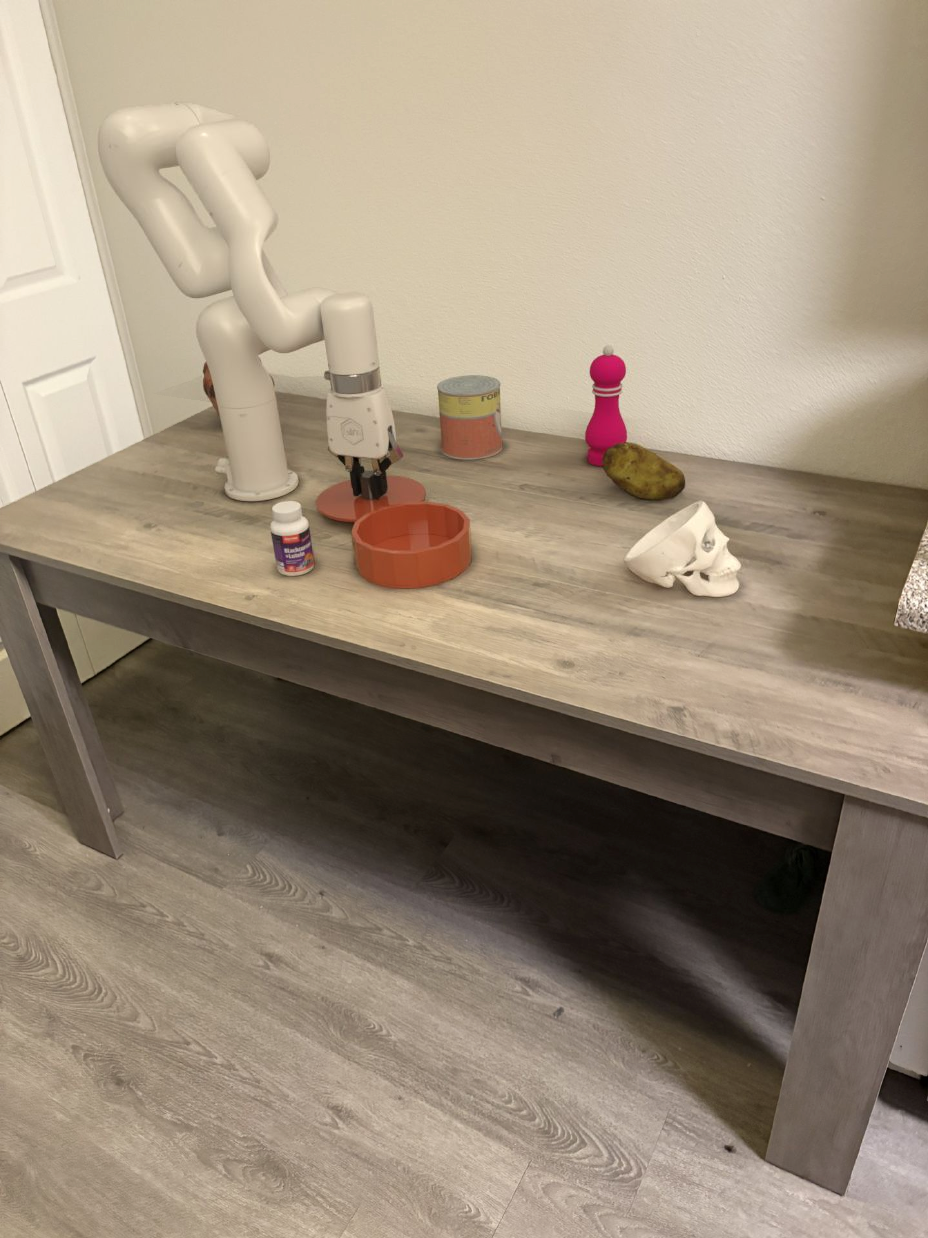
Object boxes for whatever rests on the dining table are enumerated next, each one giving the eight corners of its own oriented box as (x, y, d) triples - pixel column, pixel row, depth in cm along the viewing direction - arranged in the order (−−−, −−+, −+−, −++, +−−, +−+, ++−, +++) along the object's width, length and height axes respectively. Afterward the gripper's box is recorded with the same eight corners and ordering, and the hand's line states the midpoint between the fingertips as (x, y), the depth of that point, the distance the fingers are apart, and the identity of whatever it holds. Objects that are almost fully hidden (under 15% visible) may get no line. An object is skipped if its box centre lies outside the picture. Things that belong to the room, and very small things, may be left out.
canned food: (503, 458, 165) (500, 392, 158) (440, 461, 165) (435, 395, 159) (501, 436, 174) (499, 373, 168) (442, 439, 175) (438, 376, 168)
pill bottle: (289, 581, 129) (278, 518, 124) (270, 568, 133) (259, 506, 128) (322, 568, 132) (312, 506, 127) (303, 556, 136) (293, 495, 131)
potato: (660, 512, 142) (663, 463, 138) (593, 492, 150) (594, 446, 146) (690, 495, 147) (693, 447, 143) (623, 476, 155) (625, 431, 150)
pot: (334, 576, 130) (329, 541, 127) (392, 528, 142) (388, 495, 139) (439, 597, 123) (436, 560, 120) (489, 544, 136) (488, 510, 133)
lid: (295, 517, 144) (290, 488, 142) (353, 476, 158) (349, 449, 155) (392, 532, 137) (388, 502, 135) (444, 487, 151) (442, 459, 148)
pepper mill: (629, 454, 163) (634, 340, 153) (621, 469, 157) (626, 352, 147) (589, 451, 165) (591, 338, 155) (580, 466, 159) (581, 350, 149)
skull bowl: (745, 602, 115) (698, 519, 112) (650, 634, 124) (605, 558, 121) (762, 564, 123) (719, 486, 120) (672, 597, 131) (630, 524, 129)
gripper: (296, 384, 138) (314, 497, 147) (390, 392, 131) (403, 509, 141) (323, 370, 144) (339, 480, 153) (415, 376, 137) (426, 491, 146)
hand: (370, 493), depth 147 cm, fingers closed on lid, 3 cm apart
